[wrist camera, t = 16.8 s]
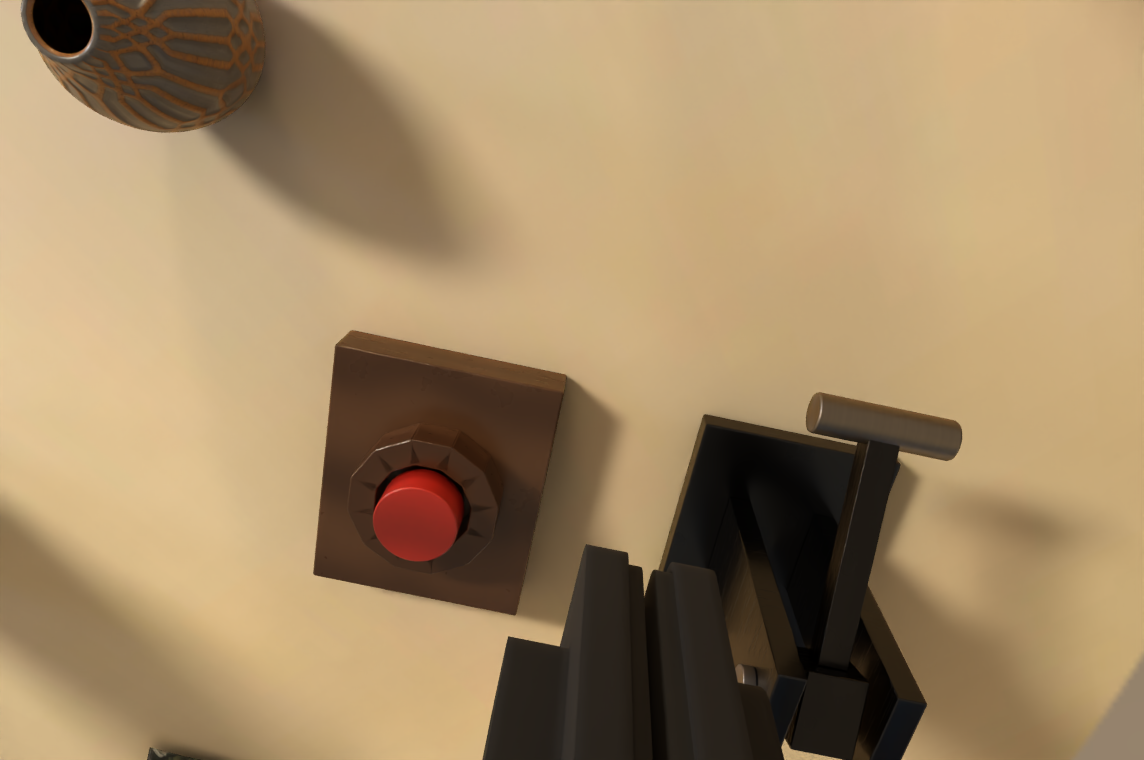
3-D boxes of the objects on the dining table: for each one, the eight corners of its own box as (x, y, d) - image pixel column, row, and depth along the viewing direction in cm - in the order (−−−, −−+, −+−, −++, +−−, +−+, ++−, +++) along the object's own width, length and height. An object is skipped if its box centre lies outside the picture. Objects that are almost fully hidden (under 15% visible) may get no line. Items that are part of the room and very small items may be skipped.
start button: (388, 460, 34) (376, 479, 32) (470, 477, 34) (463, 497, 32) (379, 531, 35) (367, 553, 33) (458, 546, 35) (450, 569, 33)
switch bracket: (703, 413, 36) (746, 578, 24) (893, 452, 36) (1029, 636, 24) (647, 606, 40) (661, 830, 28) (819, 640, 40) (904, 877, 28)
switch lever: (806, 389, 28) (829, 394, 26) (940, 417, 29) (974, 424, 26) (734, 708, 29) (750, 741, 27) (865, 734, 29) (892, 770, 27)
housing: (350, 329, 35) (319, 358, 32) (567, 374, 36) (561, 408, 32) (328, 549, 40) (298, 598, 36) (521, 588, 40) (511, 641, 36)
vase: (322, 80, 32) (220, 81, 23) (184, 154, 33) (42, 179, 25) (227, -97, 30) (79, -164, 21) (84, -11, 31) (-107, -42, 23)
